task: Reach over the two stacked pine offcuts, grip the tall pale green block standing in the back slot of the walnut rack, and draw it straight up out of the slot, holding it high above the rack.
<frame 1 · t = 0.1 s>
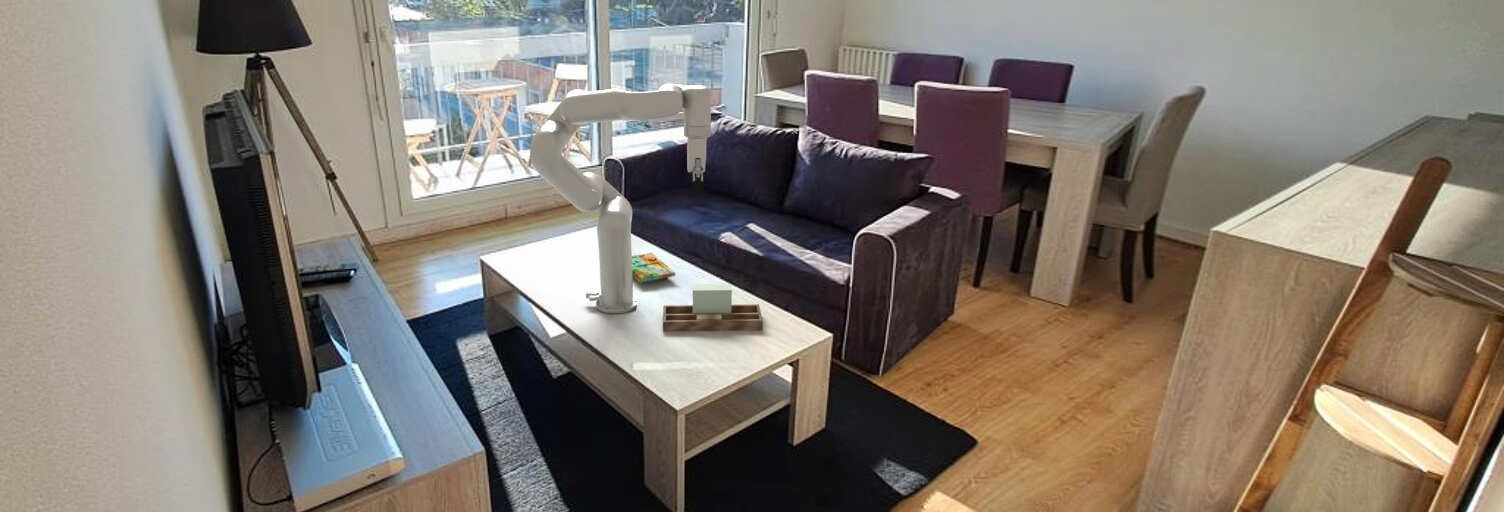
hand: (697, 189, 226), 37 cm above the table, tool pointing down, fingers open, 9 cm apart
rack: (712, 326, 225), on the table
pale green block: (711, 319, 227), point 1 cm above the table, touching rack
offcut upper: (709, 321, 222), point 3 cm above the table, touching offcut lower
puzzle game: (646, 276, 260), on the table
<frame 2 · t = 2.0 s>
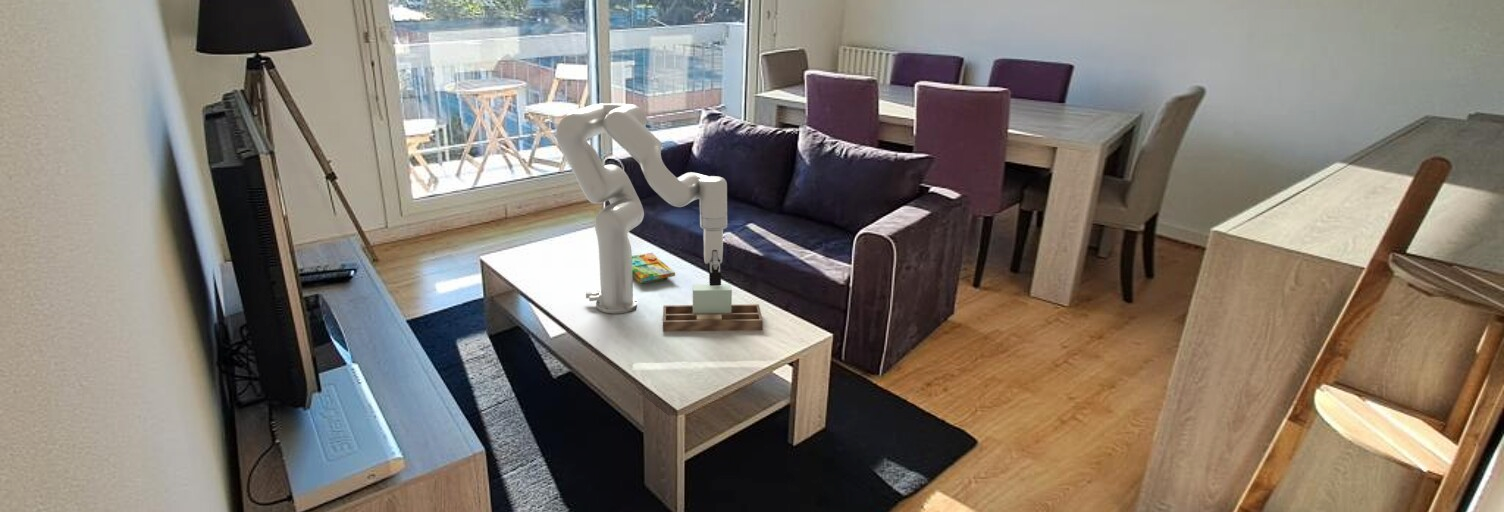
hand: (714, 278, 222), 14 cm above the table, tool pointing down, fingers open, 9 cm apart
nothing on the table moved.
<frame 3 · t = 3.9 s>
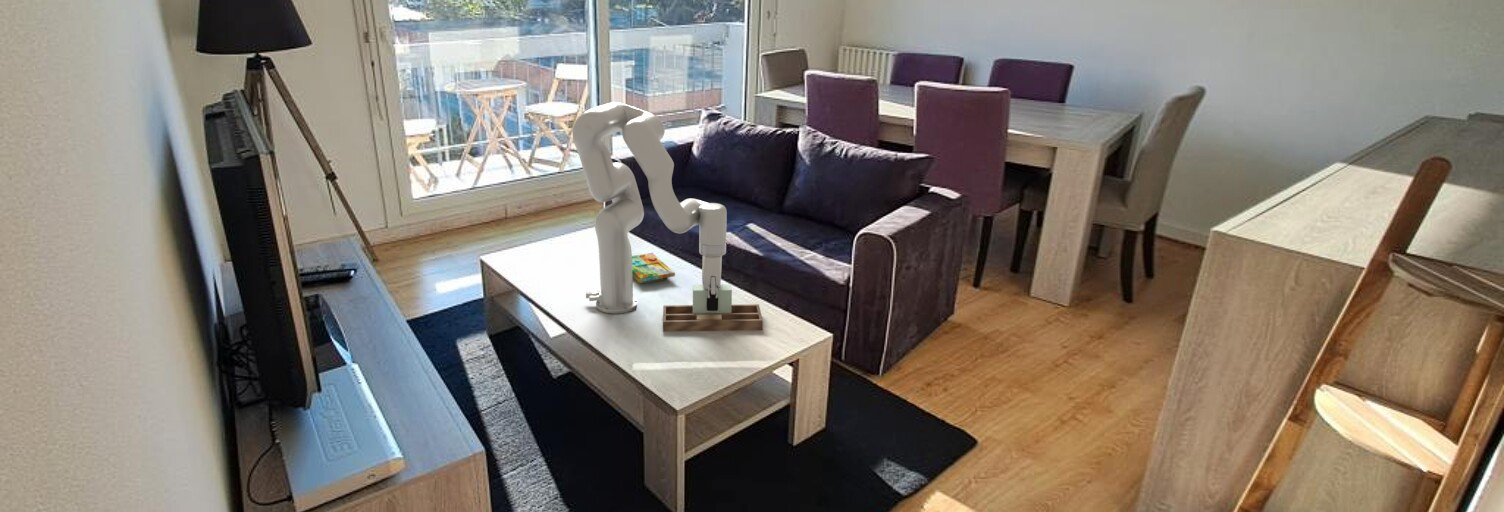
hand: (711, 306, 225), 5 cm above the table, tool pointing down, fingers closed on pale green block, 4 cm apart
pale green block: (711, 319, 227), point 1 cm above the table, touching gripper, rack
everything else where it was.
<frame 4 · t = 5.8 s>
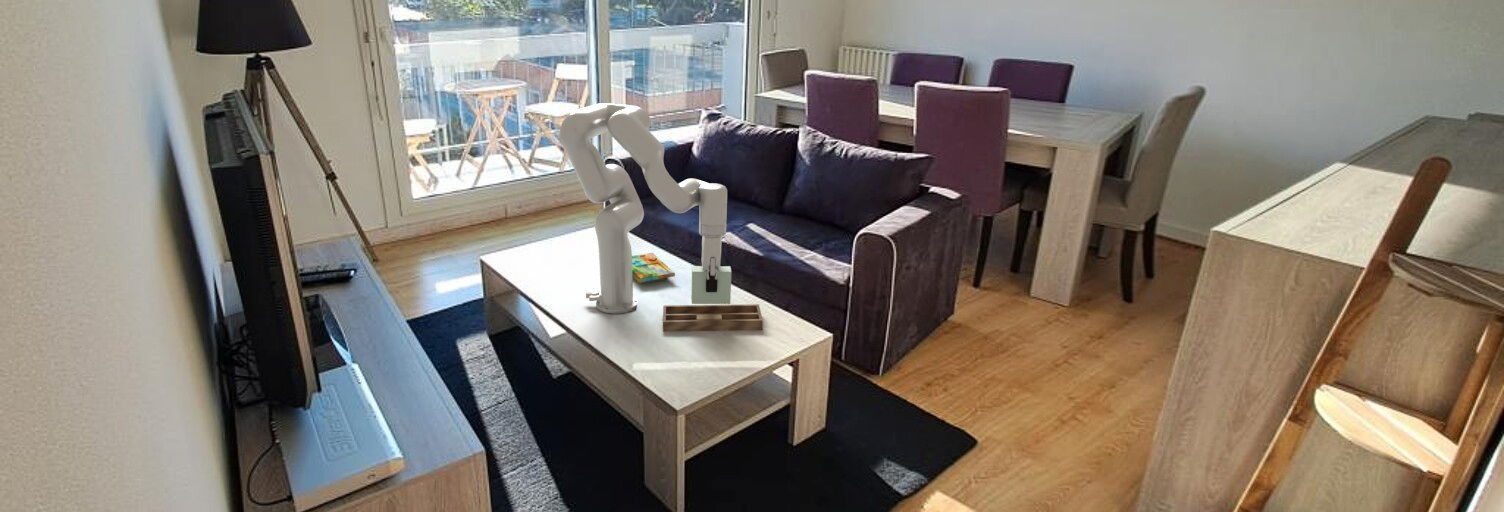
hand: (711, 287, 223), 11 cm above the table, tool pointing down, fingers closed on pale green block, 4 cm apart
pale green block: (710, 301, 225), point 7 cm above the table, touching gripper
everything else where it was.
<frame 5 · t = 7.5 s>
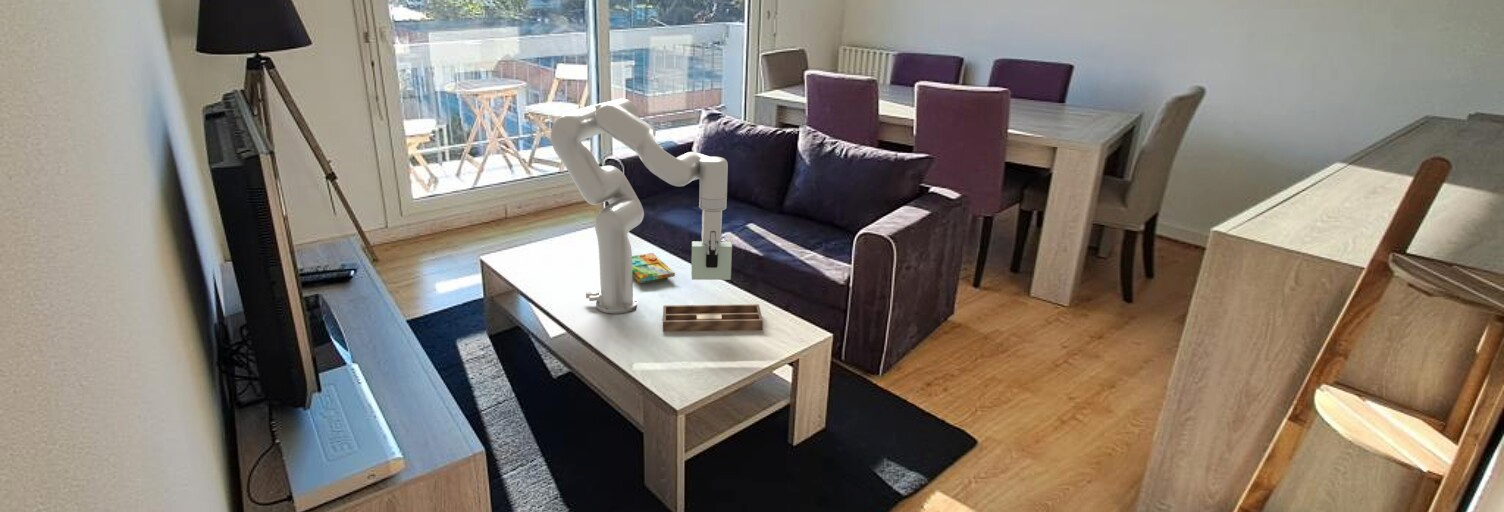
hand: (711, 263, 221), 19 cm above the table, tool pointing down, fingers closed on pale green block, 4 cm apart
pale green block: (710, 276, 222), point 14 cm above the table, touching gripper
everything else where it was.
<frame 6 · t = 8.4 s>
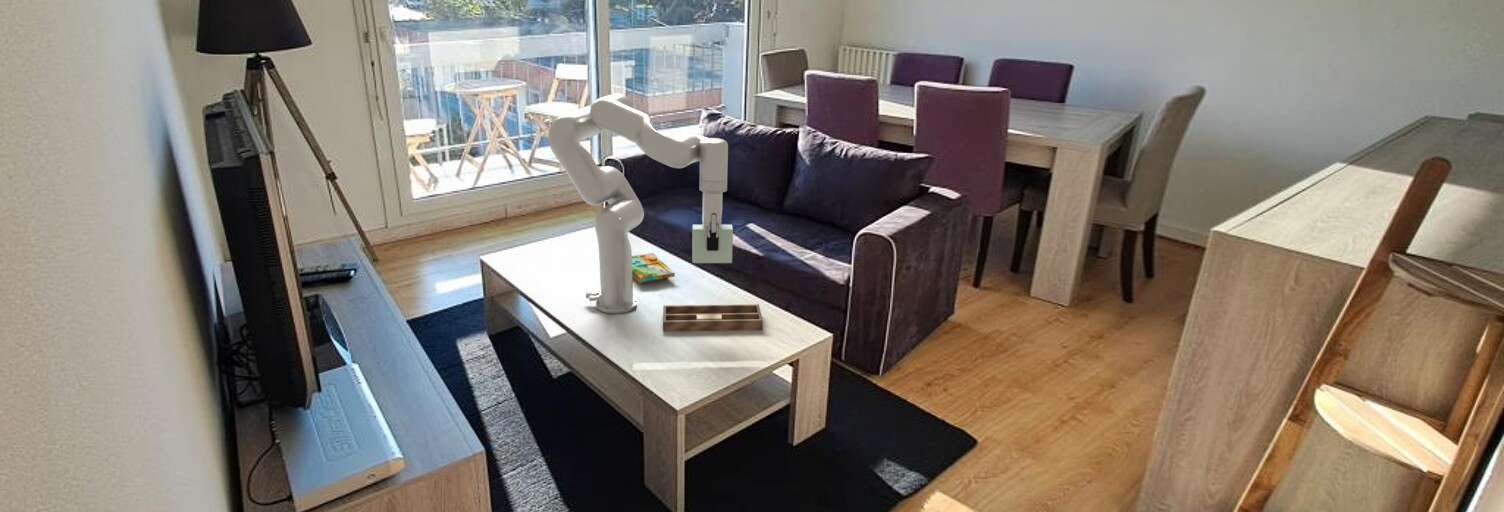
hand: (712, 246, 219), 24 cm above the table, tool pointing down, fingers closed on pale green block, 4 cm apart
pale green block: (712, 260, 220), point 19 cm above the table, touching gripper
everything else where it was.
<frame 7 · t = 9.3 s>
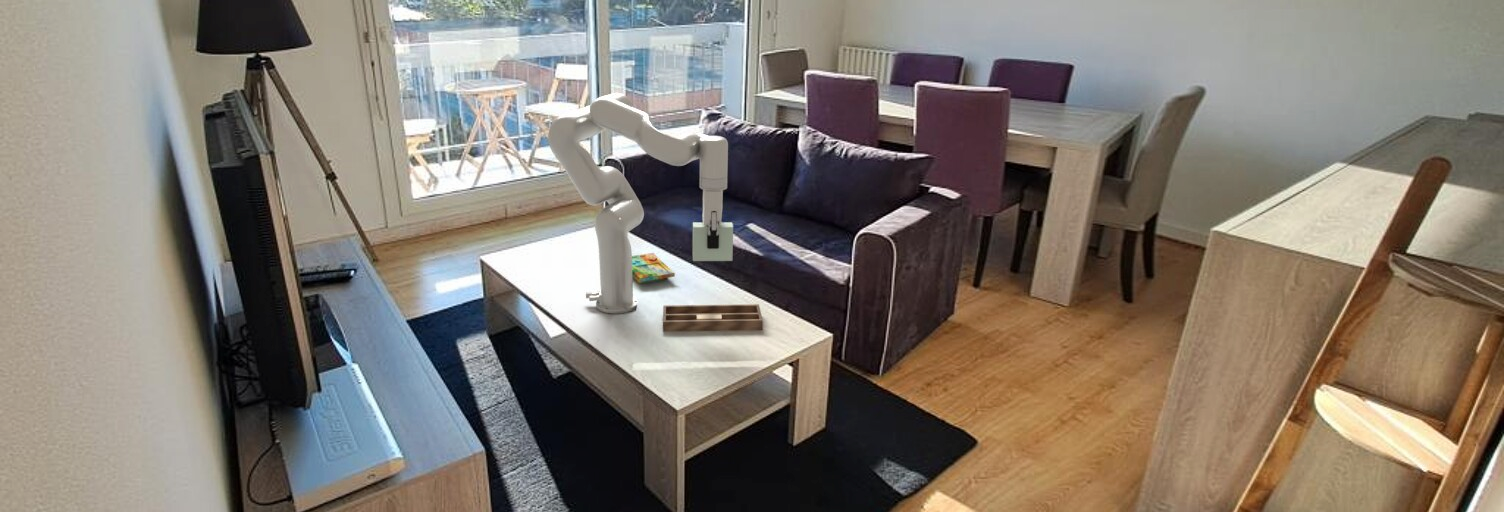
hand: (712, 244, 219), 24 cm above the table, tool pointing down, fingers closed on pale green block, 4 cm apart
pale green block: (712, 258, 220), point 20 cm above the table, touching gripper
everything else where it was.
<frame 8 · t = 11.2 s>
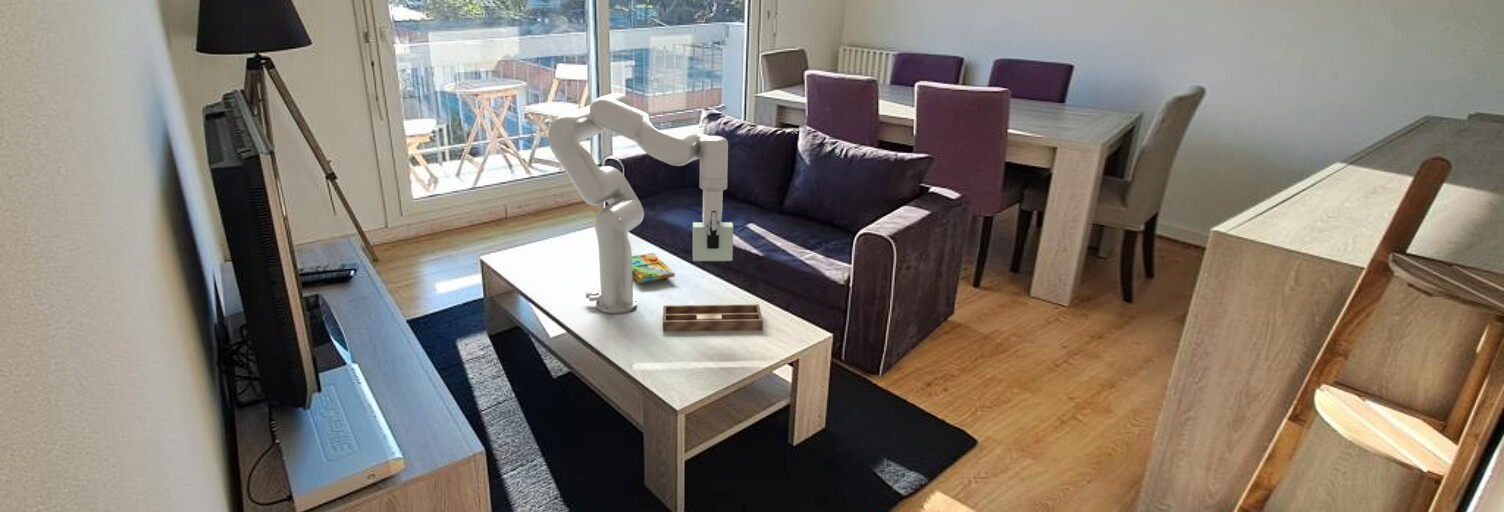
hand: (712, 244, 219), 24 cm above the table, tool pointing down, fingers closed on pale green block, 4 cm apart
pale green block: (712, 258, 220), point 20 cm above the table, touching gripper
everything else where it was.
at the end: the gripper is holding pale green block; pale green block point 20.1 cm above the table; offcut upper moved 0.0 cm from its start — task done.
